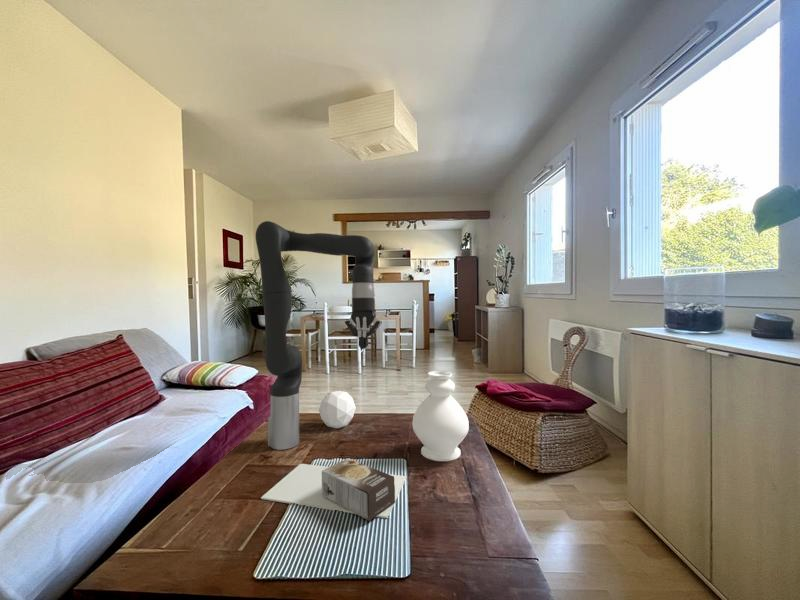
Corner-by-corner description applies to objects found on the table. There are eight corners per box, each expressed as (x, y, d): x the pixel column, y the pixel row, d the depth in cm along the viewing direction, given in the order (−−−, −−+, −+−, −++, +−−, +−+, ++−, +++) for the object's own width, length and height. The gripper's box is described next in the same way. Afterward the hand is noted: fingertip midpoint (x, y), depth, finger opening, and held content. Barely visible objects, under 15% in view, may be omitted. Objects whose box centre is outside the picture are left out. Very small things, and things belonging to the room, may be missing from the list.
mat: (261, 499, 82) (261, 497, 82) (300, 464, 99) (300, 463, 99) (387, 518, 74) (387, 516, 74) (406, 477, 91) (406, 476, 91)
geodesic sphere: (320, 421, 118) (341, 385, 124) (303, 412, 129) (323, 379, 135) (349, 439, 126) (368, 404, 132) (331, 428, 137) (349, 396, 143)
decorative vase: (402, 457, 103) (402, 376, 104) (426, 437, 119) (425, 366, 119) (459, 470, 95) (457, 381, 95) (475, 447, 111) (474, 370, 111)
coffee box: (348, 456, 89) (395, 475, 79) (348, 481, 89) (396, 502, 79) (320, 470, 82) (369, 492, 72) (320, 497, 82) (369, 522, 72)
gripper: (340, 296, 111) (340, 349, 111) (378, 296, 108) (378, 350, 107) (349, 297, 118) (349, 346, 118) (385, 296, 115) (385, 347, 115)
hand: (363, 348), depth 113 cm, fingers closed
